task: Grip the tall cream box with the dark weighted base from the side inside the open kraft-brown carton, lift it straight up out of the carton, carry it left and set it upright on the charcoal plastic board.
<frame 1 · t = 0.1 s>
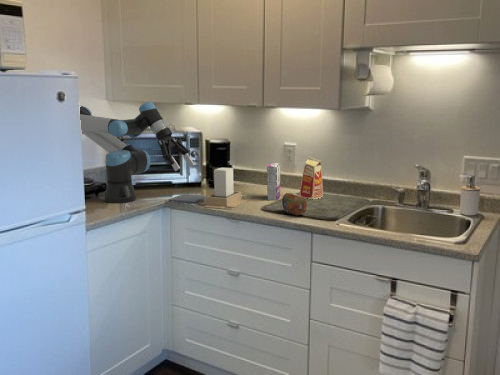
hand: (185, 167, 247), 15 cm above the countertop, tool tilted 35°, fingers open, 13 cm apart
candy bar box: (273, 198, 250), on the countertop
milk carton: (312, 197, 251), on the countertop
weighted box: (224, 185, 239), in the carton
board: (188, 199, 248), on the countertop
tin: (294, 213, 219), on the countertop
carton: (224, 202, 241), on the countertop
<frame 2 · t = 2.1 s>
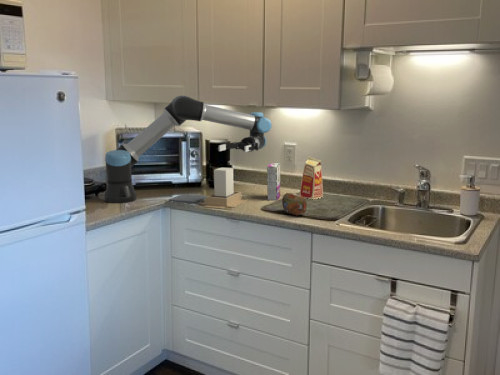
hand: (232, 148, 245), 24 cm above the countertop, tool horizontal, fingers open, 13 cm apart
nothing on the countertop moved.
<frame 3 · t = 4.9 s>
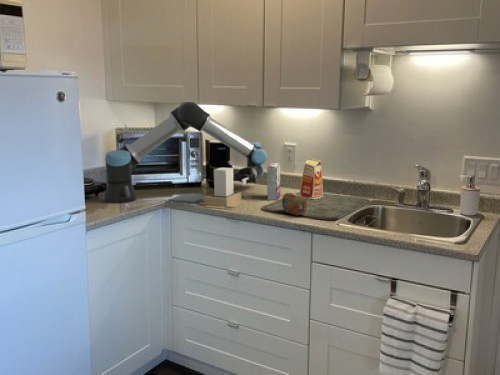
hand: (229, 181, 243), 9 cm above the countertop, tool horizontal, fingers open, 13 cm apart
nothing on the countertop moved.
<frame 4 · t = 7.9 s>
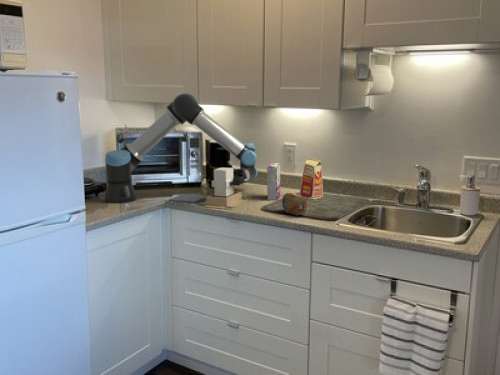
hand: (219, 184, 234), 10 cm above the countertop, tool horizontal, fingers closed on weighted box, 6 cm apart
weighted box: (224, 185, 239), in the carton, touching gripper
everything else where it was.
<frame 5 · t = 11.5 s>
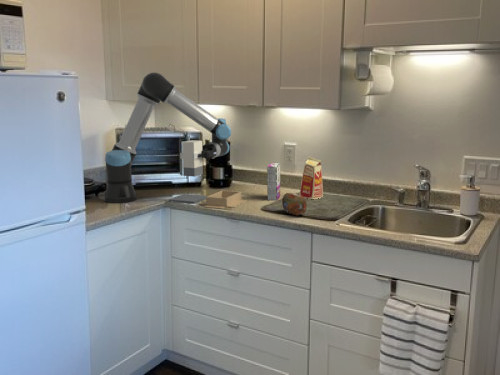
hand: (187, 156, 239), 22 cm above the countertop, tool horizontal, fingers closed on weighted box, 6 cm apart
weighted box: (192, 158, 243), point 20 cm above the countertop, touching gripper
everything else where it was.
when the fingers open (12 cm above the countertop, at t = 15.0 s): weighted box drops 1 cm, resting on board.
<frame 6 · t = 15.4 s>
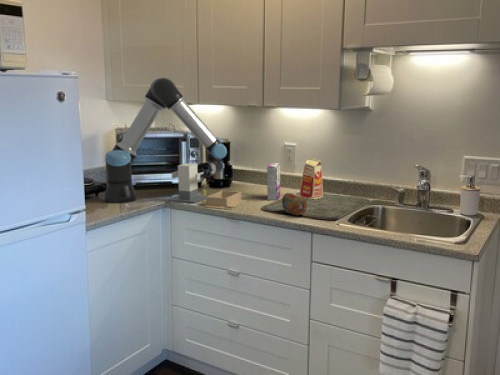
hand: (184, 176, 243), 12 cm above the countertop, tool horizontal, fingers open, 12 cm apart
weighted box: (188, 181, 246), on the board, point 9 cm above the countertop
everything else where it was.
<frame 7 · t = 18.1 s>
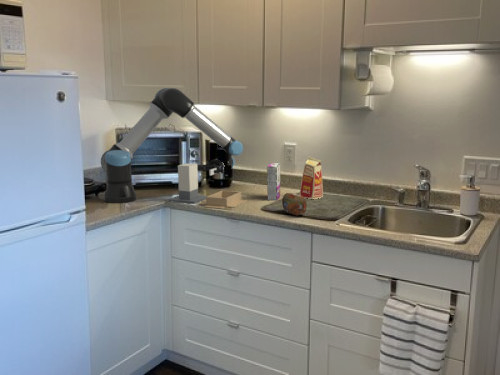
hand: (197, 172, 254), 12 cm above the countertop, tool horizontal, fingers open, 13 cm apart
nothing on the countertop moved.
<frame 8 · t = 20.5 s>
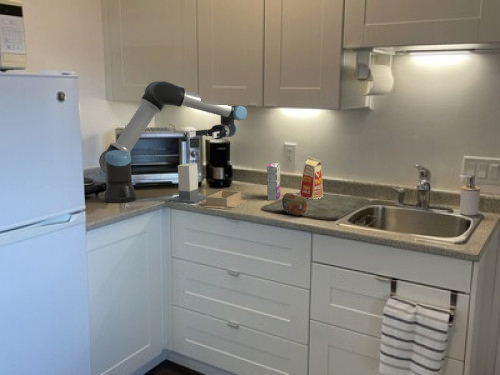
hand: (200, 135, 255), 30 cm above the countertop, tool horizontal, fingers open, 13 cm apart
nothing on the countertop moved.
at the end: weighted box inside the target area on the board (0.1 cm from its centre), point 9.0 cm above the board's base; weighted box tilted 0°; the gripper is holding nothing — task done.
